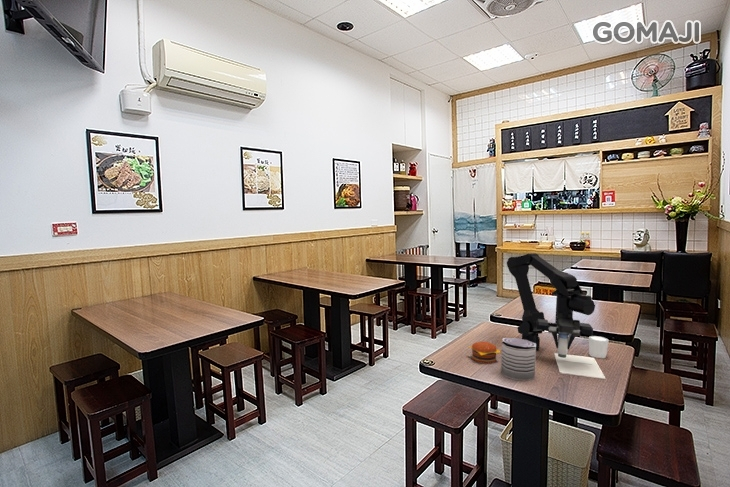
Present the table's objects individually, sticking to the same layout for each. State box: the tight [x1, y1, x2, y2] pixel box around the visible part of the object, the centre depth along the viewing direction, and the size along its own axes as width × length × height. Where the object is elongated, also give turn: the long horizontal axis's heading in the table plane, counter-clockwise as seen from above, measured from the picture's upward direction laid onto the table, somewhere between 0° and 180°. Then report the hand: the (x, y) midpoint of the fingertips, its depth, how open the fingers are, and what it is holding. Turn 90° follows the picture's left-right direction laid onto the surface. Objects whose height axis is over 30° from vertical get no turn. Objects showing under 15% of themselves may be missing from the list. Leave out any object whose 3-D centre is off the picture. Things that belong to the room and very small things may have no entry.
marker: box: [556, 331, 569, 358], centre depth 147 cm, size 3×3×9 cm
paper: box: [553, 352, 607, 380], centre depth 144 cm, size 14×20×1 cm
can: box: [500, 337, 537, 382], centre depth 136 cm, size 11×11×12 cm
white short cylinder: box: [588, 335, 610, 359], centre depth 153 cm, size 7×7×7 cm
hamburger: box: [468, 340, 502, 365], centre depth 149 cm, size 9×10×7 cm
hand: (562, 348), depth 147 cm, fingers closed on marker, 3 cm apart
